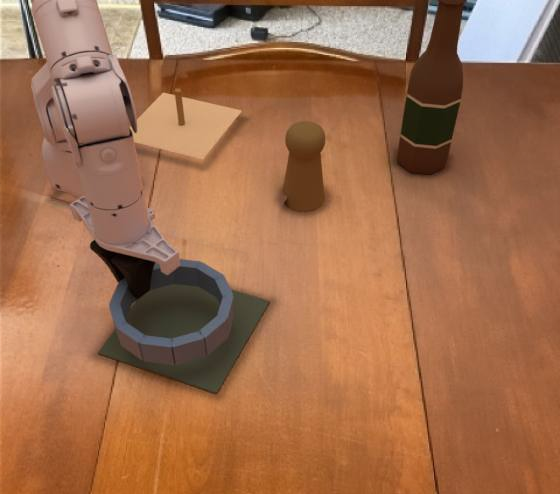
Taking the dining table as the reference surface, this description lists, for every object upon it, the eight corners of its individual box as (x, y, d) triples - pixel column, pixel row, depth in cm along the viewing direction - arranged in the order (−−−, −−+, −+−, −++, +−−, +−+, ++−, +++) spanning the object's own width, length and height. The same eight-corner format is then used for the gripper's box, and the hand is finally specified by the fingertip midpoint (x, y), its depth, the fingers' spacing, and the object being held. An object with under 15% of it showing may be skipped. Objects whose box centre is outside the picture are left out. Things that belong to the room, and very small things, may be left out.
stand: (120, 146, 103) (111, 104, 97) (164, 100, 111) (158, 58, 105) (203, 168, 99) (199, 124, 94) (242, 119, 108) (240, 76, 102)
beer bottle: (455, 155, 102) (496, -16, 83) (434, 182, 97) (471, 8, 79) (408, 139, 104) (437, -30, 85) (385, 165, 100) (410, -8, 81)
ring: (91, 324, 76) (85, 306, 74) (174, 262, 82) (171, 243, 80) (175, 384, 71) (171, 366, 69) (257, 312, 77) (256, 294, 75)
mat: (97, 354, 77) (97, 352, 77) (160, 270, 86) (160, 268, 86) (216, 394, 74) (216, 392, 74) (269, 302, 83) (269, 300, 82)
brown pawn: (320, 214, 93) (325, 143, 84) (277, 208, 94) (277, 137, 85) (327, 187, 97) (332, 117, 88) (286, 182, 97) (287, 111, 89)
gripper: (195, 201, 67) (206, 298, 77) (95, 147, 72) (119, 245, 83) (143, 238, 63) (162, 334, 74) (43, 178, 69) (74, 276, 80)
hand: (136, 289), depth 78 cm, fingers closed on ring
